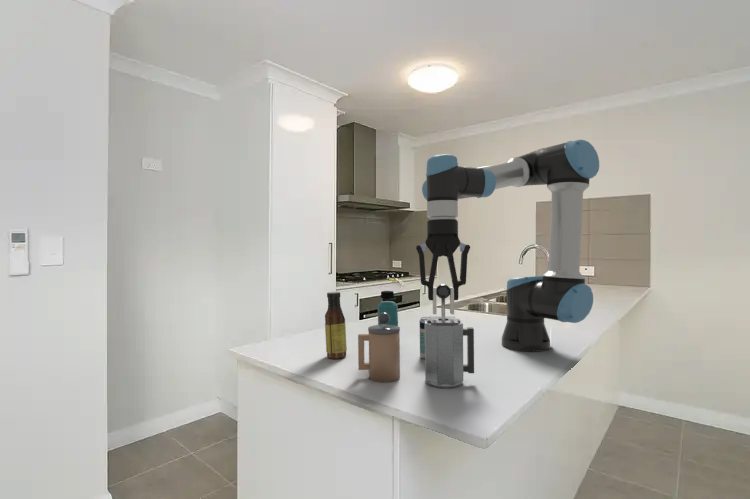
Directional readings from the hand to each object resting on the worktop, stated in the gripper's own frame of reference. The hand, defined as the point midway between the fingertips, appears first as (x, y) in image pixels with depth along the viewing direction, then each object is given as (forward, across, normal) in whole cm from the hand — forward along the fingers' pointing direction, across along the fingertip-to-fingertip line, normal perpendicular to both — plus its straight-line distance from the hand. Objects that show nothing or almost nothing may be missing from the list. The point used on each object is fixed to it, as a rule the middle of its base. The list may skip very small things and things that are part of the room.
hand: (443, 313), depth 100 cm
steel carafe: (+17, -1, 0) cm, 17 cm away
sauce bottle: (+17, +31, -21) cm, 41 cm away
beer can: (+17, +3, -21) cm, 27 cm away
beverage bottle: (+17, +15, -23) cm, 33 cm away
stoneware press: (+17, +16, -3) cm, 24 cm away
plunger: (+12, 0, 0) cm, 12 cm away
